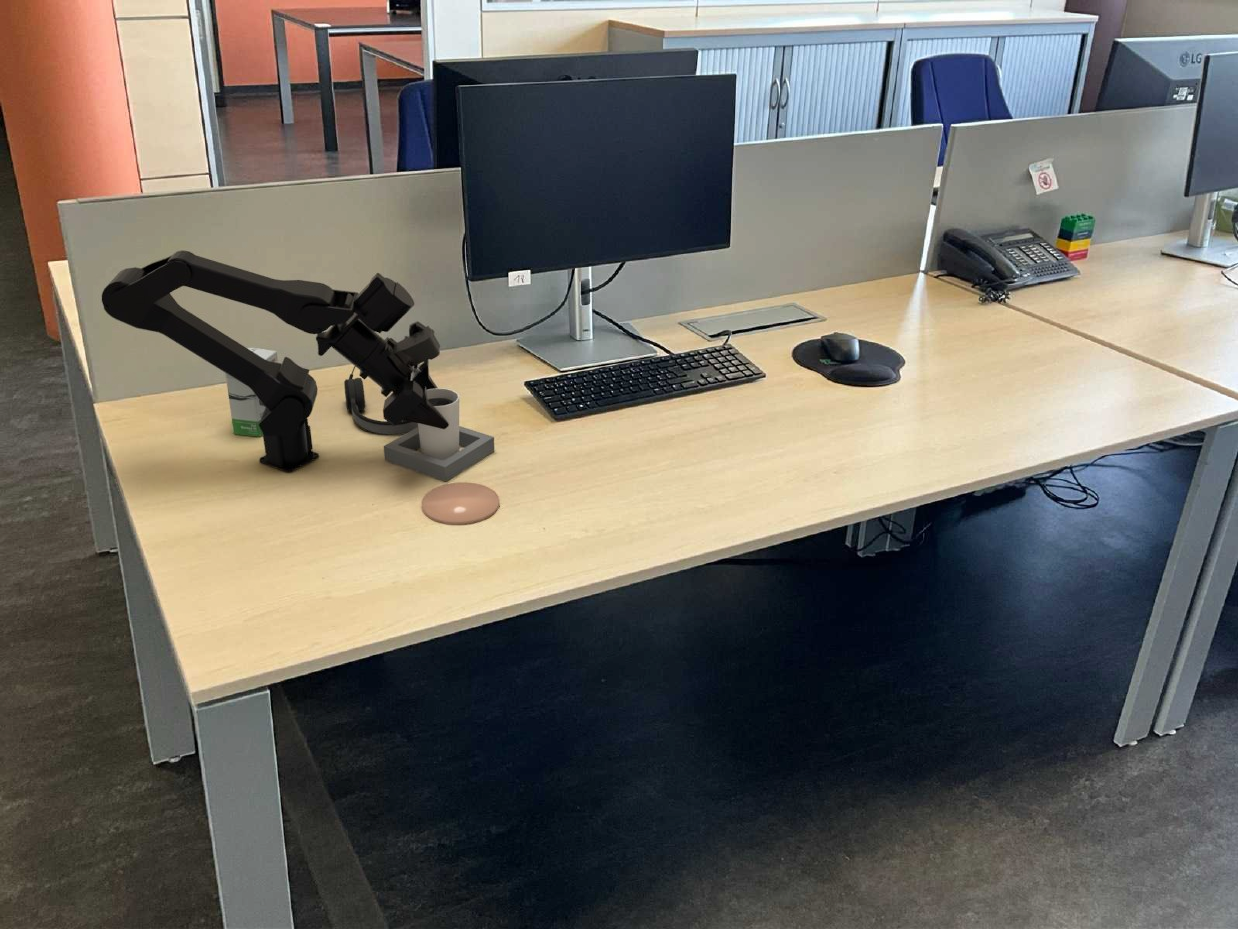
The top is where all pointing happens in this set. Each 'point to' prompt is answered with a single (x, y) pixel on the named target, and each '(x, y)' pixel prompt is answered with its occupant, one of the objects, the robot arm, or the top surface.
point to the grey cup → (438, 439)
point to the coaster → (460, 503)
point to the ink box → (247, 401)
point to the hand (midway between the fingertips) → (447, 417)
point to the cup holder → (443, 470)
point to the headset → (357, 402)
